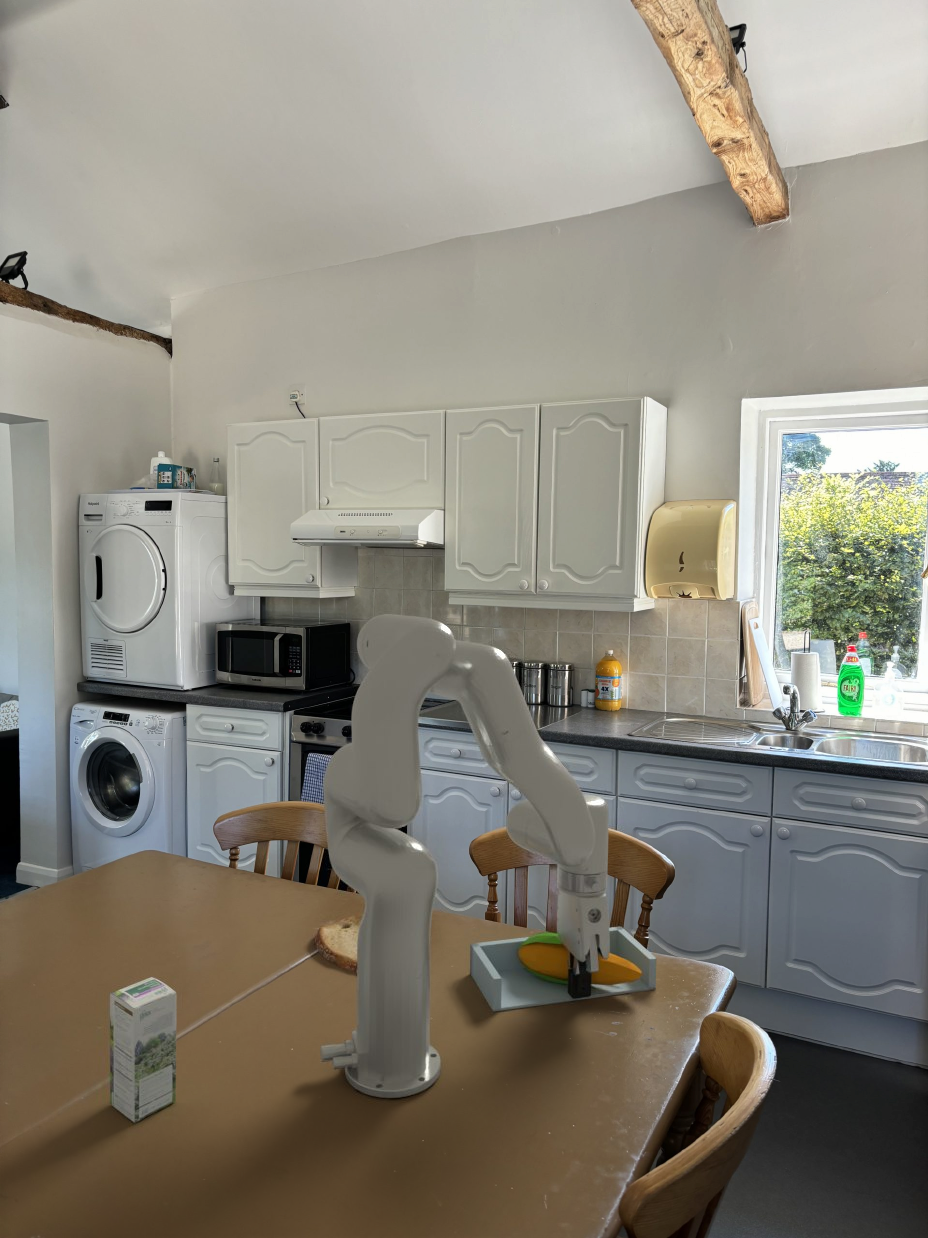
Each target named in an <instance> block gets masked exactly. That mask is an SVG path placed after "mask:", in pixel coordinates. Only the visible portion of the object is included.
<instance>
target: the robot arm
mask: <svg viewBox="0 0 928 1238" xmlns="http://www.w3.org/2000/svg"><path fill="white" fill-rule="evenodd" d="M356 639H357V640H356V648H357V654H358V657H359V659H360V660H361V662H362V663H363V665H364V666H365V668H367V669H368V672H367V673H366V675H365V676H364V678H363V680H362V682H361V684H360V685H359V687H358V689H357V691H356V694H355V696H354V700H353V704H352V709H351V742H349V743H347V744H344V745H343V746H341V747H340V748H338V749H337V751H335V752H334V754H333V755H332V757H330V759H329V761H328V764H327V766H326V768H325V771H324V776H323V786H322V787H323V788H322V790H323V805H324V819H325V829H326V839H327V849H328V850H327V851H328V855H329V856H328V857H329V862H330V864H331V867H332V870H333V871H334V873H335V875H337V877H338V878H339V879H340V880H341V881H342V882H343V883H345V884H346V885H347V886H349V887H350V888H351V889H353V890H354V891H355V892H357V893H358V894H359V895H361V896H362V897H363V898H364V903H365V906H364V912H363V914H362V915H363V917H362V920H361V923H360V927H359V931H358V940H357V972H356V974H357V976H356V981H357V982H356V983H357V984H356V985H357V987H356V999H357V1001H356V1005H357V1006H356V1008H357V1009H356V1014H357V1015H356V1020H357V1021H356V1030H353V1031H351V1039H347V1040H344V1043H339V1044H338V1043H337V1044H328V1045H327V1044H326V1045H321V1046H320V1059H321V1063H327V1062H332V1068H333V1070H335V1071H336V1070H339V1069H344V1075H345V1079H346V1080H347V1082H348V1083H349V1084H350V1086H352V1087H353V1088H354V1089H355V1090H356V1091H359V1092H360V1093H362V1094H366V1095H368V1096H371V1097H374V1098H375V1097H376V1098H382V1099H397V1098H403V1097H404V1098H405V1097H409V1096H411V1095H412V1096H413V1095H416V1094H418V1093H421V1092H422V1091H425V1090H426V1089H428V1088H429V1087H431V1086H432V1085H433V1084H434V1083H435V1082H436V1081H437V1080H438V1079H439V1076H440V1074H441V1067H442V1066H441V1065H442V1062H441V1057H440V1054H439V1053H438V1051H437V1050H436V1049H435V1048H434V1047H433V1046H432V1045H431V1044H430V1024H431V1023H430V1019H431V1018H430V1009H431V1005H430V1004H431V1001H430V1000H431V999H430V998H431V932H432V931H431V929H432V917H433V910H434V905H435V904H434V903H435V901H436V900H435V899H436V895H437V889H438V883H439V882H438V881H439V873H438V866H437V863H436V861H435V858H434V856H433V855H432V854H431V852H430V850H429V849H428V848H427V847H426V846H425V845H423V844H422V843H421V842H420V841H419V840H417V839H415V838H414V837H413V836H411V835H409V834H407V833H405V832H403V831H401V830H399V829H401V828H402V827H406V826H408V825H409V824H411V823H412V822H413V821H414V820H415V819H416V817H417V816H418V814H419V812H420V810H421V806H422V798H423V784H422V773H421V772H422V771H421V770H422V769H421V757H420V756H421V755H420V744H419V743H420V742H419V718H420V716H419V715H420V712H421V708H422V705H423V703H424V701H425V699H426V697H427V695H428V694H433V695H434V696H435V695H436V696H438V697H439V696H440V697H443V698H447V699H451V700H455V701H457V702H459V705H460V706H461V708H462V710H463V713H464V715H465V717H466V720H467V722H468V724H469V727H470V729H471V731H472V733H473V736H474V739H475V742H476V744H477V746H478V749H479V751H480V754H481V757H482V758H483V760H484V761H485V762H486V763H487V764H488V766H489V767H490V768H491V769H492V770H493V771H494V772H495V773H496V774H497V775H498V776H500V777H501V778H502V779H503V780H505V781H506V782H507V783H508V784H510V785H511V786H513V787H514V788H515V789H516V790H517V791H518V792H519V793H521V795H523V796H524V798H525V799H524V800H522V801H520V802H517V803H516V804H515V805H514V806H513V807H512V808H511V809H510V811H508V813H507V816H506V821H505V827H506V828H505V829H506V833H507V835H508V836H509V838H510V839H511V841H513V843H514V844H515V845H517V846H518V847H519V848H522V849H524V850H527V851H528V852H530V853H533V854H535V855H538V856H541V857H543V858H544V859H547V860H548V861H550V862H552V863H556V864H557V866H556V867H557V869H556V870H557V871H556V872H557V873H556V875H557V876H556V877H557V878H556V881H557V882H556V888H557V889H558V896H557V909H556V933H557V934H558V937H559V939H560V941H561V942H562V943H563V944H564V945H565V946H566V948H567V949H566V950H567V965H568V967H569V968H571V969H568V994H569V995H570V996H571V998H572V999H578V998H585V997H590V996H591V975H592V973H593V972H598V970H599V967H598V954H599V955H600V956H601V957H602V958H603V959H608V958H609V952H610V940H609V928H610V916H609V905H608V899H607V894H606V892H607V891H608V890H607V889H608V864H609V863H608V862H609V861H608V859H609V858H608V855H609V827H610V825H609V824H610V822H609V821H610V811H609V810H610V809H609V805H608V803H607V802H606V800H605V799H603V798H602V797H600V796H597V795H593V794H587V793H586V794H583V791H582V790H581V788H580V786H579V785H578V783H577V781H576V780H575V778H574V776H572V774H571V773H570V771H568V769H567V768H566V767H565V766H564V764H563V763H562V762H561V761H560V760H559V758H558V757H557V755H556V754H555V753H554V752H553V751H552V749H551V748H550V746H548V745H547V743H546V742H545V741H544V740H543V739H542V738H541V735H540V734H539V732H538V730H537V728H536V725H535V722H534V720H533V718H532V715H531V714H532V713H531V711H530V710H529V709H530V708H529V707H528V704H527V702H526V699H525V697H524V694H523V691H522V689H521V686H520V684H519V681H518V678H517V675H516V674H515V671H514V668H513V666H512V664H511V661H510V659H509V658H508V657H507V655H506V654H505V653H504V652H503V651H502V650H500V649H499V648H497V647H495V646H491V645H487V644H483V643H479V642H471V641H470V642H469V641H464V640H458V639H455V636H454V633H453V632H452V630H451V629H450V628H449V627H448V626H447V625H446V624H444V623H442V622H441V621H439V620H436V619H432V618H429V617H425V616H424V617H423V616H415V615H403V614H394V613H385V614H379V615H376V616H373V617H372V618H370V619H369V620H368V621H366V623H364V624H363V626H362V627H361V629H360V631H359V632H358V635H357V638H356ZM597 953H598V954H597Z"/></svg>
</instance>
